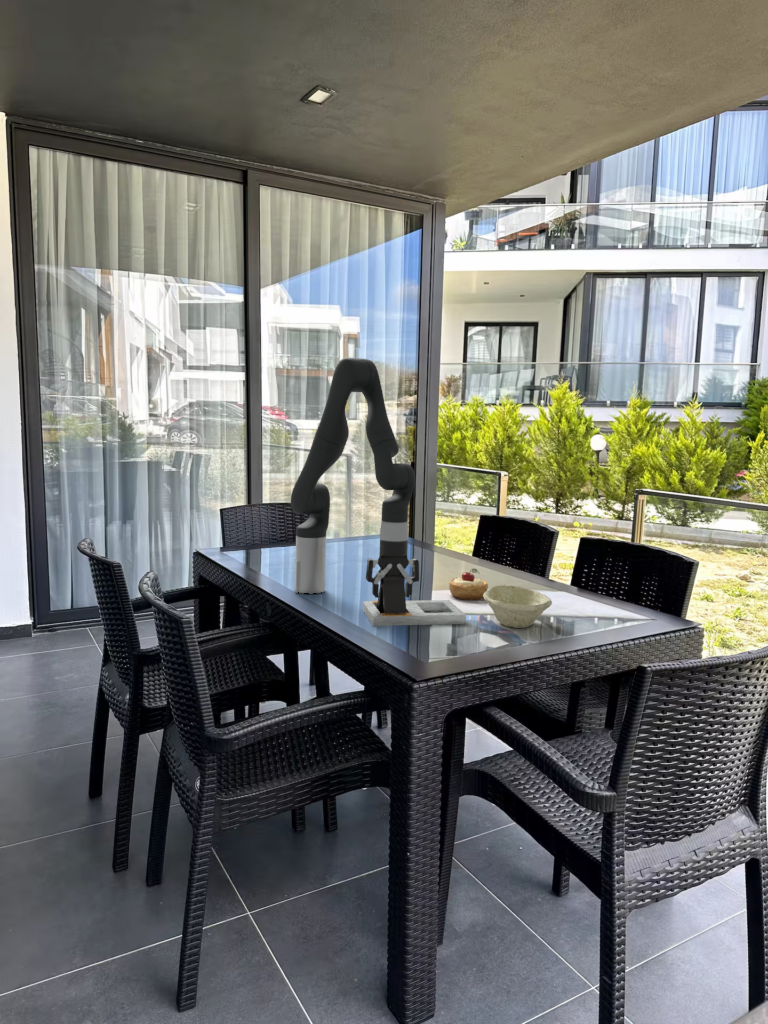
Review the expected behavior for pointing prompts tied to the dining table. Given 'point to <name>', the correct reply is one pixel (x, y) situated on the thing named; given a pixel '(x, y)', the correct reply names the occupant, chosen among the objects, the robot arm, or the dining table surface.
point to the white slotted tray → (416, 614)
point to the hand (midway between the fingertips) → (391, 596)
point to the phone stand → (392, 594)
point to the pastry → (468, 587)
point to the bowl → (516, 605)
